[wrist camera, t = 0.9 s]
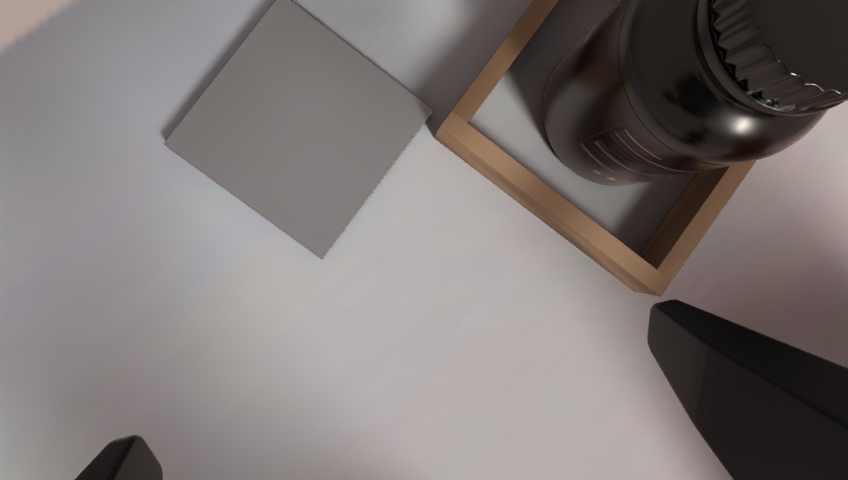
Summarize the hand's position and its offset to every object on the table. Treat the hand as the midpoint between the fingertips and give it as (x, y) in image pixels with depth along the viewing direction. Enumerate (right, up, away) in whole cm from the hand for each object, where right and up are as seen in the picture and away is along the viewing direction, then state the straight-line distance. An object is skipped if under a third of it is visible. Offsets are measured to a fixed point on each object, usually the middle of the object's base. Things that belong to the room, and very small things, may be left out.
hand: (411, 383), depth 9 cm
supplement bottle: (+9, +8, +15) cm, 19 cm away
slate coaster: (-5, +7, +13) cm, 16 cm away
